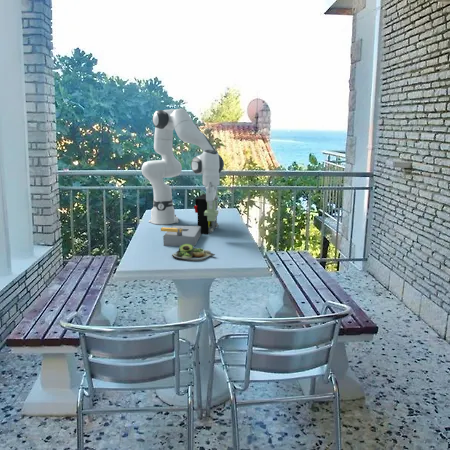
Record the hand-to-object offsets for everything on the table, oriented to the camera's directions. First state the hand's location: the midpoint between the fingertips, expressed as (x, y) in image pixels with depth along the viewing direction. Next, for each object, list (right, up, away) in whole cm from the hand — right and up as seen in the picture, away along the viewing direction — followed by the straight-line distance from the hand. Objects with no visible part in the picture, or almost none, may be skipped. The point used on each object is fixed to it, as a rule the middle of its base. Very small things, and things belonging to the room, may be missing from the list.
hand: (211, 207), depth 244 cm
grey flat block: (-15, -17, +3) cm, 23 cm away
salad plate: (-9, -24, -26) cm, 36 cm away
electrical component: (-3, -13, +25) cm, 28 cm away
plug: (0, -7, +1) cm, 7 cm away
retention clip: (-20, -14, -7) cm, 25 cm away
